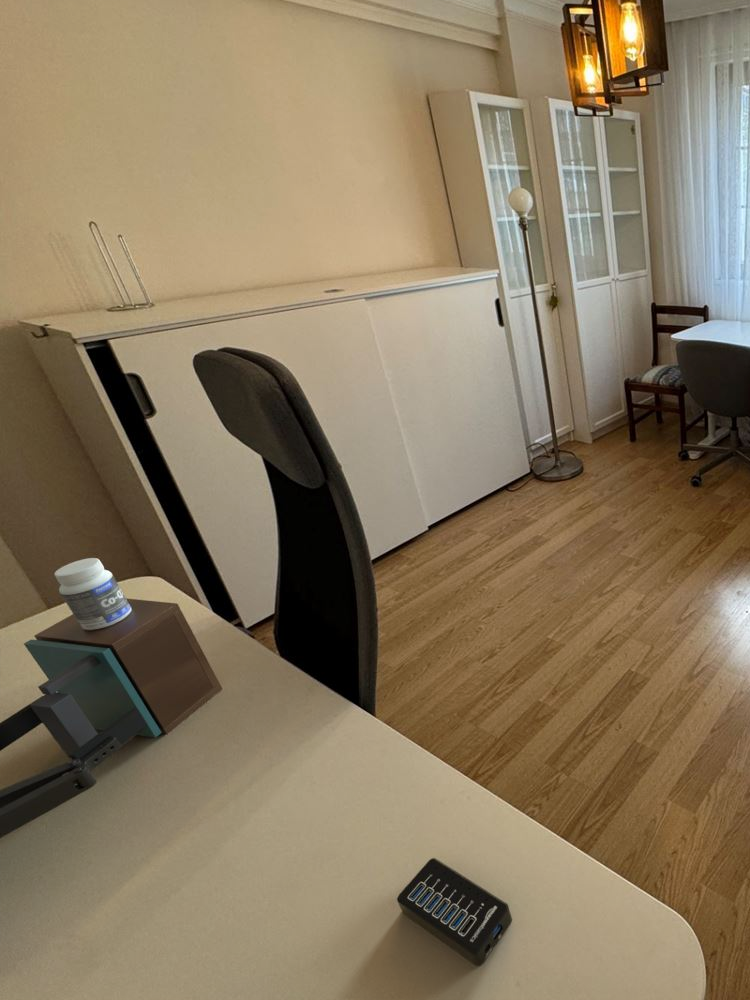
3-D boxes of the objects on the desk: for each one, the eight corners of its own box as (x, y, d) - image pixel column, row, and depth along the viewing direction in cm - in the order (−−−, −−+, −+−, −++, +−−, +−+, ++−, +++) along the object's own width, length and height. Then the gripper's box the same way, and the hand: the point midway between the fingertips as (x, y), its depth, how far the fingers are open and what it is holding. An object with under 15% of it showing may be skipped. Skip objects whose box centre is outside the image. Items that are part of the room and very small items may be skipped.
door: (26, 767, 71) (-43, 680, 64) (88, 722, 77) (31, 639, 70) (104, 779, 69) (41, 691, 63) (161, 732, 75) (109, 648, 69)
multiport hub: (437, 868, 60) (432, 855, 59) (514, 918, 55) (510, 905, 55) (400, 912, 56) (394, 898, 55) (479, 968, 52) (475, 955, 51)
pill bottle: (121, 625, 72) (89, 572, 69) (73, 635, 71) (39, 581, 67) (140, 603, 76) (111, 552, 73) (95, 612, 75) (64, 560, 71)
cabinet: (94, 724, 77) (33, 635, 71) (155, 680, 85) (105, 596, 78) (167, 734, 76) (111, 644, 69) (222, 688, 83) (177, 603, 76)
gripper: (-249, 902, 54) (30, 719, 73) (-45, 947, 50) (192, 743, 69) (-310, 855, 50) (-2, 677, 69) (-97, 900, 47) (166, 699, 66)
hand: (95, 709), depth 69 cm, fingers open, 13 cm apart
